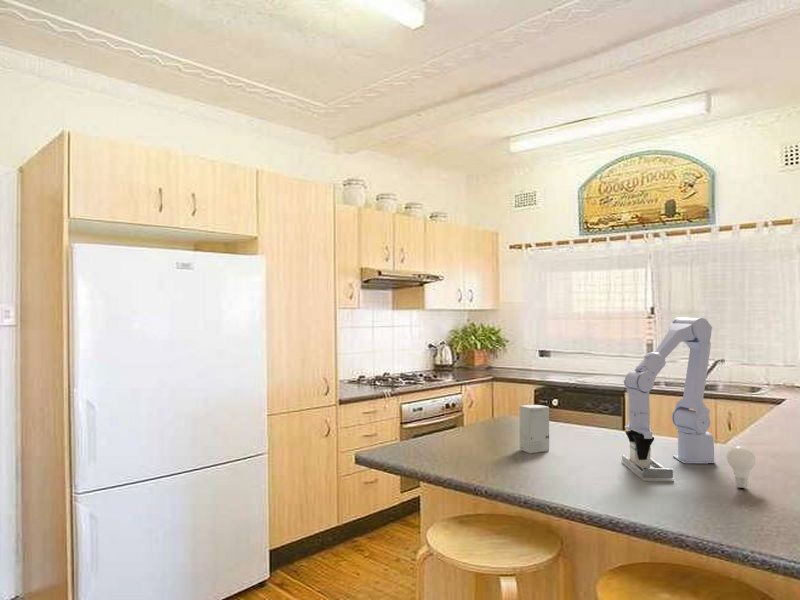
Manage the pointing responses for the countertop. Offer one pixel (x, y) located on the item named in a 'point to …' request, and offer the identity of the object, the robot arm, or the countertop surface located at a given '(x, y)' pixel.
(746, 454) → the lightbulb
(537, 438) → the skincare box
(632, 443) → the block
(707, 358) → the robot arm
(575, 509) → the countertop surface
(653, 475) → the rail plate
